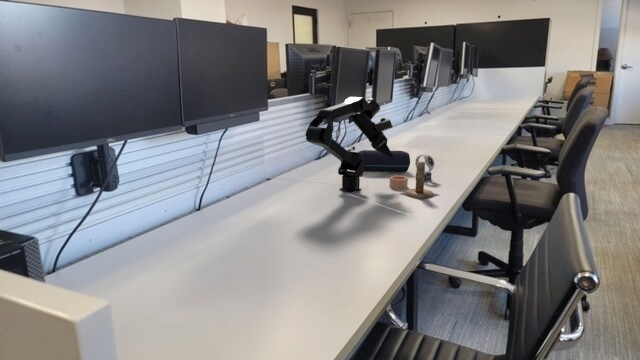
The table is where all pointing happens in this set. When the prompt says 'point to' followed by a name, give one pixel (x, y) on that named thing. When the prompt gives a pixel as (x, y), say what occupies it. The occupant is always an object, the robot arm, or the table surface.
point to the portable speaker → (385, 161)
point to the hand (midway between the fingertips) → (391, 154)
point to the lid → (419, 184)
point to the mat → (419, 198)
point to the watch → (429, 163)
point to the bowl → (398, 182)
